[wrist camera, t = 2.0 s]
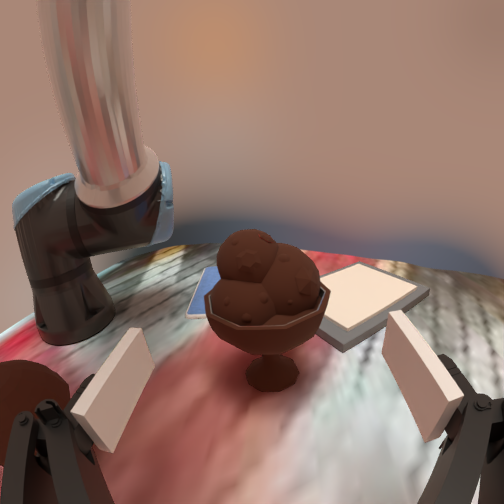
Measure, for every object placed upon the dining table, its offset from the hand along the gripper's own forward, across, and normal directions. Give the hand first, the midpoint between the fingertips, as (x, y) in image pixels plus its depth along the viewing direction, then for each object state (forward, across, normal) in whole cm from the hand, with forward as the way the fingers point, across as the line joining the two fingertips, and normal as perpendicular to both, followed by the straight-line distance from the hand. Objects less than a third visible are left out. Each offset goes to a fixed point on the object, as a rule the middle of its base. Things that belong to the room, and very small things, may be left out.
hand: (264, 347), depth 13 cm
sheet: (+24, +12, -10) cm, 29 cm away
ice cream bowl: (+10, 0, -12) cm, 15 cm away
